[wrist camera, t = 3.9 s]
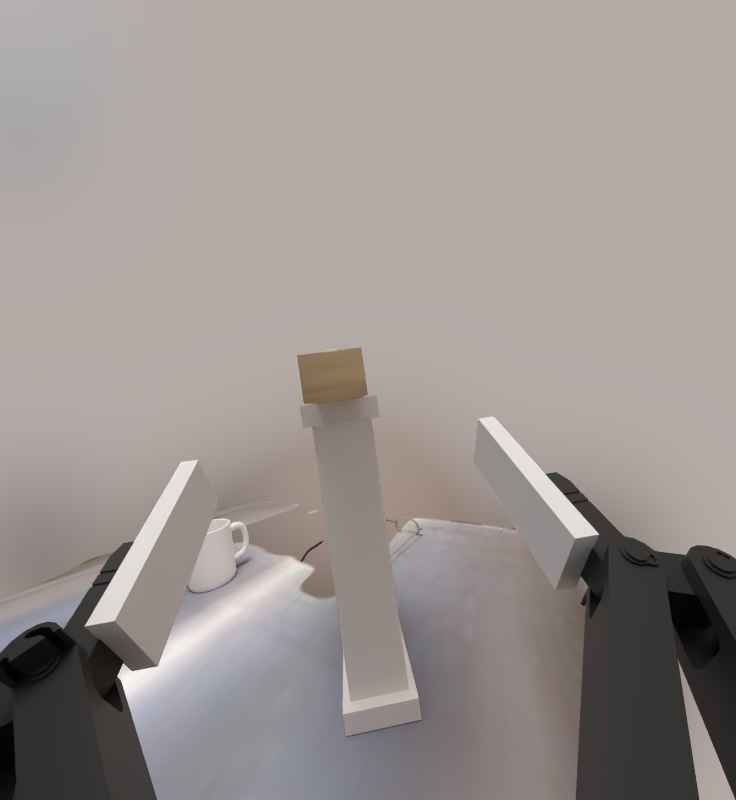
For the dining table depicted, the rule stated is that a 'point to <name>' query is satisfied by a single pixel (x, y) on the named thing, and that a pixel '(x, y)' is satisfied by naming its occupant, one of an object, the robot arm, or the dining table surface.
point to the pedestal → (361, 568)
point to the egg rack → (332, 375)
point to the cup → (217, 556)
